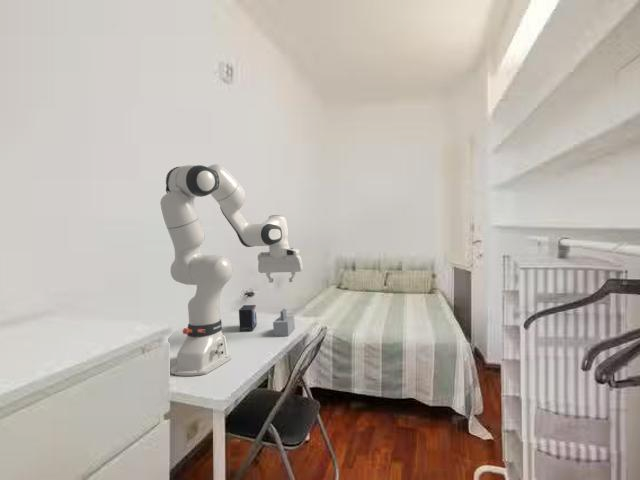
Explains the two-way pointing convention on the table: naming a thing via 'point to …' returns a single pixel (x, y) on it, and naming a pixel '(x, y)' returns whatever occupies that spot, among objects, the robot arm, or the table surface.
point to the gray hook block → (284, 324)
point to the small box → (247, 318)
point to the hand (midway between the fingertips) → (281, 282)
